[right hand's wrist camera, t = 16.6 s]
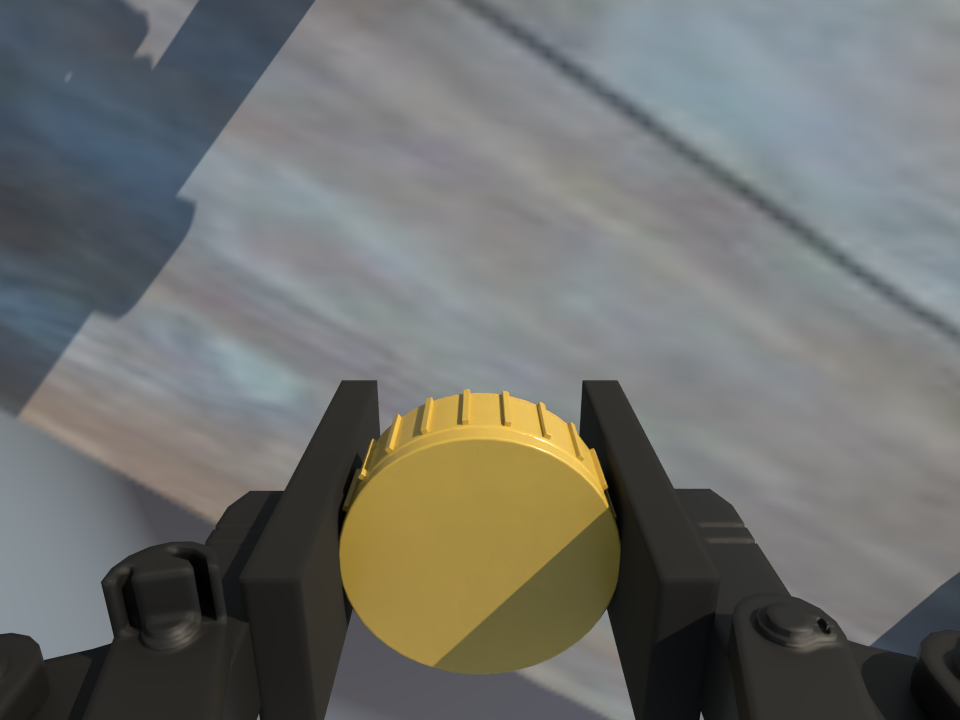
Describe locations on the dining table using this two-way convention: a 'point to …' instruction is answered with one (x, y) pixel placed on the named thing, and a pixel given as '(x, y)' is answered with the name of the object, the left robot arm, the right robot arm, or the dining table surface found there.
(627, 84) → the dining table surface
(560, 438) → the lid
